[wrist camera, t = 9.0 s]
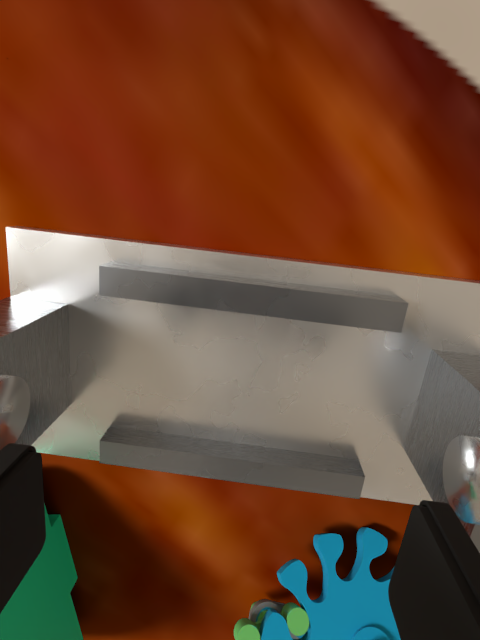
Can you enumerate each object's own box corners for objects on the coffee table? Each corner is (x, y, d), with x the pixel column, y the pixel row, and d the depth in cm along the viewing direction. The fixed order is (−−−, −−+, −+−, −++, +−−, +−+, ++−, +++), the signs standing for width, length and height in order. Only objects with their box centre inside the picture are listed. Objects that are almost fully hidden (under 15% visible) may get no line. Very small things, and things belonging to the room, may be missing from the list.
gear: (478, 553, 19) (504, 865, 14) (415, 547, 24) (418, 773, 19) (262, 499, 19) (213, 794, 14) (246, 505, 24) (205, 721, 19)
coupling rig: (436, 496, 19) (528, 656, 12) (31, 440, 20) (-91, 563, 13) (504, 283, 16) (681, 343, 9) (17, 225, 17) (-155, 241, 10)
